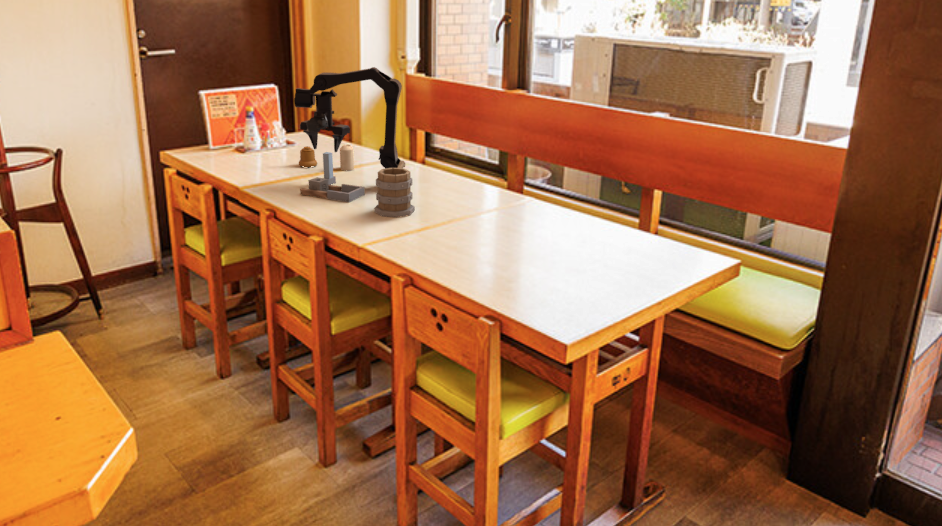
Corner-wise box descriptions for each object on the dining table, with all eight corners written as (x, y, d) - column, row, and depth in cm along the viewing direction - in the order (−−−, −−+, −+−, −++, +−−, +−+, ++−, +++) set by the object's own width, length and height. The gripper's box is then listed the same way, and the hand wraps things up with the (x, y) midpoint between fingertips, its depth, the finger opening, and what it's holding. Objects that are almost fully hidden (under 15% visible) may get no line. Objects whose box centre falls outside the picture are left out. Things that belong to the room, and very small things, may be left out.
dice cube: (309, 193, 272) (308, 180, 271) (317, 190, 277) (317, 177, 275) (320, 195, 270) (319, 182, 268) (328, 192, 274) (328, 179, 273)
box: (364, 194, 272) (364, 186, 271) (349, 202, 263) (349, 193, 262) (343, 191, 275) (342, 183, 274) (327, 198, 266) (327, 190, 265)
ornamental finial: (301, 168, 306) (297, 164, 312) (319, 167, 309) (314, 163, 315) (300, 149, 303) (295, 145, 309) (318, 148, 306) (313, 144, 312)
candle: (347, 171, 303) (346, 147, 300) (337, 169, 306) (336, 145, 303) (356, 169, 307) (356, 145, 304) (347, 166, 311) (346, 143, 307)
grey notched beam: (335, 182, 287) (334, 151, 283) (327, 186, 282) (326, 154, 278) (330, 181, 288) (328, 151, 283) (322, 185, 283) (320, 154, 279)
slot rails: (341, 191, 275) (341, 186, 275) (326, 198, 267) (326, 193, 266) (316, 187, 279) (316, 182, 279) (300, 194, 271) (300, 189, 270)
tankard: (407, 218, 247) (407, 174, 242) (370, 215, 250) (369, 171, 244) (423, 202, 266) (423, 160, 260) (388, 199, 268) (388, 158, 263)
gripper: (289, 108, 271) (291, 151, 276) (332, 114, 264) (334, 158, 269) (308, 104, 280) (309, 146, 286) (350, 109, 273) (351, 152, 279)
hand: (325, 150), depth 280 cm, fingers open, 9 cm apart
